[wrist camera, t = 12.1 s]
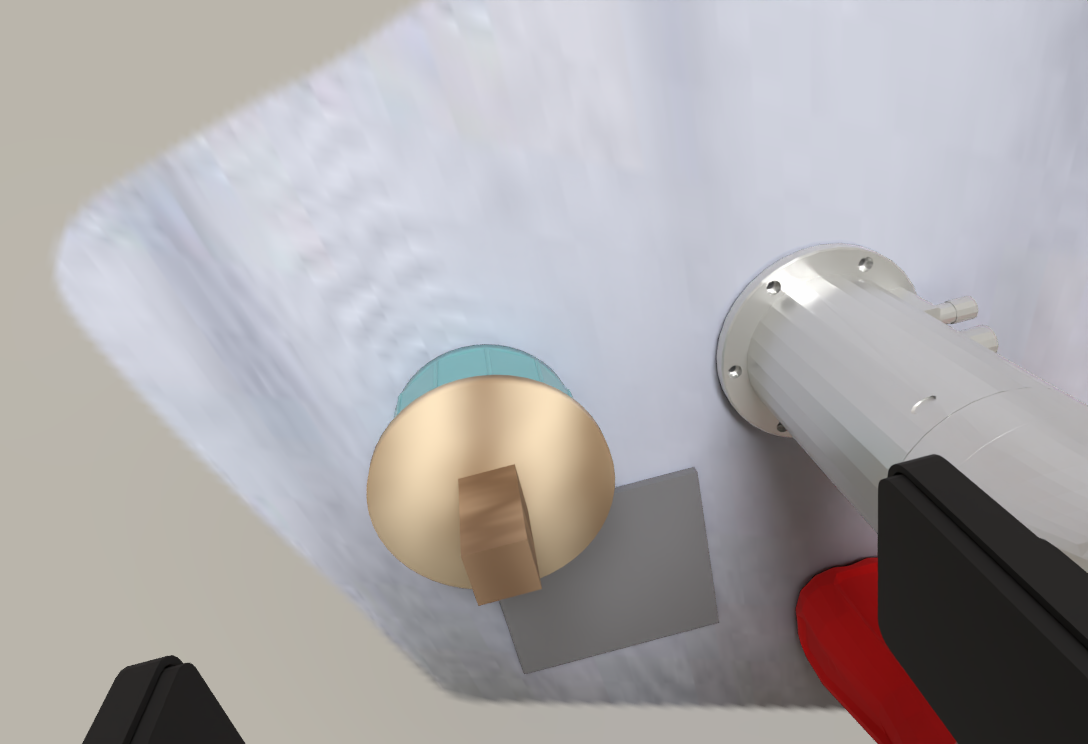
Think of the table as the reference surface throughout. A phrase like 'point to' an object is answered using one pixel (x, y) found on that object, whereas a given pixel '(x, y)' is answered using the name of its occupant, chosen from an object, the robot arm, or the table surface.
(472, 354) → the bowl
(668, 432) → the table surface
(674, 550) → the mat
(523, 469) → the lid
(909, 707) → the water bottle
